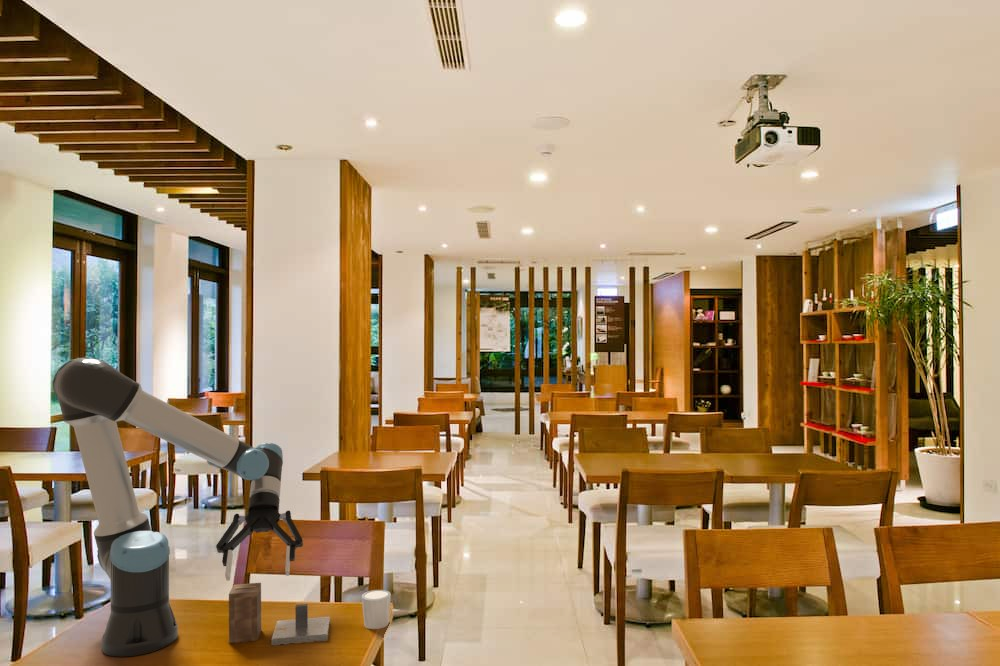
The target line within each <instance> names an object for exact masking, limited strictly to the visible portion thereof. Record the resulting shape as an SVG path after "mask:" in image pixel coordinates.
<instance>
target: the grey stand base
mask: <svg viewBox="0 0 1000 666" xmlns="http://www.w3.org/2000/svg"><path fill="white" fill-rule="evenodd" d="M294 609H295V618H294V619H283V620H282V619H281V620H277V621H276V624H275V627H274V631H273V633H272V635H271V636H272V637H271V646H272V645H273V646H281V645H280V644H284V645H290V644H289V643H295V644H300V643H299V642H306V643H314V642H313V641H317V642H326V641H328V639H329V633H328V632H329V631H330V625H329V624H330V623H331V620H330V619H331V617H330V616H321V617H320V616H319V617H308V616H309V612H308V611H309V606H308V603H301V604H295V608H294Z"/></svg>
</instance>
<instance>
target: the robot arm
mask: <svg viewBox="0 0 1000 666" xmlns="http://www.w3.org/2000/svg"><path fill="white" fill-rule="evenodd" d="M52 390H53V393H54V395H55V396H56V398H57V401H58V403H59V407H60V408H59V409H60V411H61V414H62V418H63V422H64V423H65V424H68V425H69V426H72V427H73V428H74V434H75V437H76V442H77V445H78V448H79V452H80V455H81V460H82V464H83V468H84V472H85V475H86V479H87V483H88V487H89V490H90V495H91V498H92V502H93V507H94V509H95V510H94V511H95V512H96V513H95V514H96V517H97V521H98V524H97V526H96V528H95V529H94V531H93V536H94V539H95V544H96V548H97V551H96V552H97V560H98V563H99V565H100V568H101V569H102V570H103V571H104V572H105V574H106V575H107V576H108V579H109V580H110V613H109V616H108V620H107V623H106V627H105V630H104V633H103V635H102V637H101V651H102V653H104V655H107V656H110V657H116V658H117V657H120V658H121V657H122V658H123V657H124V658H125V657H134V656H135V657H136V656H139V655H140V656H141V655H145V654H148V653H152V652H155V651H158V650H161V649H163V648H165V647H167V646H169V645H170V644H172V643H173V642H175V641H176V640H177V638H178V635H179V634H178V633H179V632H178V629H179V627H178V623H177V621H176V618H175V615H174V612H173V609H172V607H171V604H170V554H171V553H170V551H171V549H170V546H169V539H168V537H167V536H166V535H165V534H163V533H162V532H159V531H154V530H152V528H151V524H150V521H149V516H148V515H147V514H146V513H144V512H142V511H140V509H139V507H138V501H137V498H136V495H135V490H134V487H133V483H132V480H131V475H130V470H129V466H128V464H127V460H126V456H125V452H124V451H125V450H124V447H123V443H122V439H121V436H120V435H121V434H120V431H119V428H118V424H117V422H120V421H123V422H126V423H128V424H129V425H132V426H135V428H138V429H140V430H142V431H144V432H146V433H149V434H151V435H153V436H155V437H157V438H159V439H161V440H162V441H163V440H164V441H165V442H168V443H169V444H172V445H174V446H175V447H178V448H180V449H181V450H185V451H187V452H189V453H191V454H193V455H194V456H197V457H199V458H200V459H203V460H206V463H207V465H209V466H212V467H215V468H217V469H222V470H225V471H227V472H230V473H232V474H234V475H236V476H237V477H240V478H241V479H244V480H247V481H250V488H249V489H250V490H249V498H248V508H247V514H246V515H240V514H239V513H235V514H234V515H233V518H232V519H233V520H232V522H231V523H230V525H229V526H228V528H227V530H225V532H224V533H223V535H222V536H221V538H220V539H219V541H218V542H217V544H216V545H215V548H216V551H217V554H220V553H221V554H222V561H221V562H222V566H223V567H225V572H224V577H225V579H226V581H227V582H229V581H231V574H232V565H233V557H234V555H233V554H234V553H233V551H234V550H235V549H236V548H237V547H238V546H239V545H240V544H241V543H242V542H243V541H244V540H245V539H246V538H247V537H248V536H251V534H252V533H253V532H254V533H256V534H257V533H269V532H270V531H272V532H273V533H274V534H275V535H277V536H278V538H280V540H281V541H283V543H284V544H285V545H286V552H285V569H284V570H285V571H284V573H285V577H287V576H290V569H291V562H295V559H296V549H297V548H302V547H303V546H304V540H303V538H302V536H301V534H300V533H299V531H298V529H297V527H296V525H295V523H294V521H293V519H292V513H291V511H290V510H286V511H285V512H283V513H280V511H279V510H280V502H281V500H280V497H281V484H282V483H281V482H282V470H283V464H284V460H283V459H284V458H283V456H284V455H283V450H282V448H281V447H280V446H279V445H278V444H276V443H274V442H270V443H268V442H264V443H260V444H258V445H257V446H256V447H254V446H251V445H250V444H247V443H245V442H244V441H242V440H239V439H238V438H236V437H234V436H232V435H230V434H228V433H226V432H225V431H222V430H220V429H218V428H216V427H214V426H212V425H211V424H208V423H207V422H205V421H204V420H203V421H202V420H201V419H199V418H197V417H195V416H192V415H191V414H190V413H187V412H185V411H183V410H181V409H179V408H177V407H176V406H173V405H171V404H170V403H167V402H166V401H163V400H162V399H160V398H158V397H156V396H154V395H152V394H150V393H148V392H146V391H144V390H143V388H142V384H140V383H139V382H137V381H134V380H133V379H132V378H130V377H128V376H126V375H125V374H123V373H122V372H120V370H117V369H116V368H115V367H114V366H112V365H111V364H109V363H108V362H106V361H103V360H101V359H98V358H91V357H77V358H75V359H70V360H69V361H67V362H64V363H63V364H62V365H61V366H60V367H58V369H57V370H56V372H55V374H54V376H53V379H52ZM281 520H282V522H284V523H286V525H287V527H288V529H289V531H290V533H291V535H292V537H293V538H292V537H291V536H290V535H289V534H288V533H287V532H286V531H285V530H284V529H283V528H282V527H281V526H280V525H279V521H281ZM244 522H245V523H246V524H245V525H244V526H243V528H242V529H241V530H240V531H239V532H238V533H237V534H236V535H235V533H236V532H237V530H238V529H239V526H241V525H242V524H243V523H244ZM234 535H235V536H234ZM233 536H234V537H233ZM293 539H294V540H293Z"/></svg>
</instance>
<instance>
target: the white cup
mask: <svg viewBox="0 0 1000 666" xmlns="http://www.w3.org/2000/svg"><path fill="white" fill-rule="evenodd" d="M391 597H392V594H391V592H390V591H389V590H384V589H374V590H368V591H365V592H364V593H362V595H361V604H362V606H361V607H362V614H363V625H364V627H365V628H366V629H370V630H379V629H383V628H386V627H387V626H388V625H389V621H390V611H391Z"/></svg>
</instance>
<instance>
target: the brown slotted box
mask: <svg viewBox="0 0 1000 666" xmlns="http://www.w3.org/2000/svg"><path fill="white" fill-rule="evenodd" d="M261 631H262V583H261V582H250V583H238V584H233V586H232V587H231V589H230V590H229V592H228V644H229V645H231V644H239V643H240V642H241V643H249V642H248V641H252V642H258V641H259V637H260V635H261Z"/></svg>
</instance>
